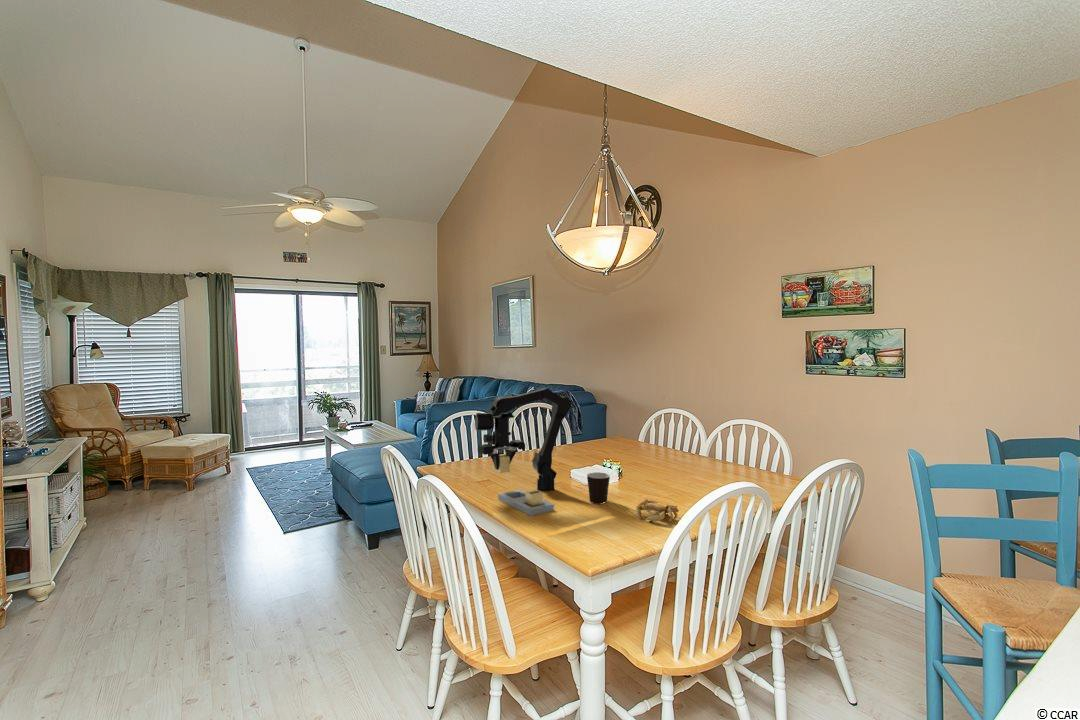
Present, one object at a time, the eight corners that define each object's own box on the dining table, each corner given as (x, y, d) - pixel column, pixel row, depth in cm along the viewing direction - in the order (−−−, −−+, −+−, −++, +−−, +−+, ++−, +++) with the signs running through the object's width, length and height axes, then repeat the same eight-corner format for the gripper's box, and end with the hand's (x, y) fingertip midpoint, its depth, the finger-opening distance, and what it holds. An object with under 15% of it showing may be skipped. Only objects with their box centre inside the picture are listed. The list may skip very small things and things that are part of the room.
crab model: (625, 516, 176) (625, 501, 176) (648, 508, 184) (648, 493, 184) (662, 529, 164) (662, 512, 164) (685, 519, 172) (685, 504, 172)
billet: (503, 469, 201) (503, 453, 201) (509, 471, 198) (509, 456, 198) (494, 470, 199) (494, 455, 199) (500, 473, 195) (499, 457, 195)
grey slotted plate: (498, 501, 191) (498, 493, 191) (520, 497, 197) (520, 489, 197) (530, 518, 173) (530, 510, 173) (553, 512, 179) (553, 504, 179)
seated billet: (535, 506, 183) (535, 489, 183) (542, 509, 180) (542, 492, 179) (525, 508, 181) (525, 491, 181) (532, 511, 177) (532, 494, 177)
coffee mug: (593, 496, 198) (593, 471, 197) (613, 500, 193) (613, 474, 192) (578, 504, 188) (578, 477, 188) (598, 508, 183) (599, 481, 183)
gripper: (511, 424, 210) (511, 461, 210) (471, 428, 199) (471, 467, 200) (526, 428, 200) (526, 466, 201) (484, 433, 190) (484, 474, 190)
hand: (502, 468), depth 198 cm, fingers closed on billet, 4 cm apart
